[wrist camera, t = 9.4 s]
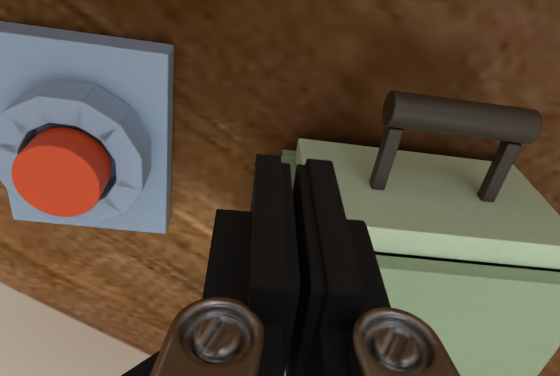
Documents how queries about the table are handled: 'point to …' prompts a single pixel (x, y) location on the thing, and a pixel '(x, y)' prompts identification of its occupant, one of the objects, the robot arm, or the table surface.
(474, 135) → the shelf drawer
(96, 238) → the table surface
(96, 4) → the table surface
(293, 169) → the bedside cabinet
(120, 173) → the switch box
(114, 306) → the table surface
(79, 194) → the red switch button
